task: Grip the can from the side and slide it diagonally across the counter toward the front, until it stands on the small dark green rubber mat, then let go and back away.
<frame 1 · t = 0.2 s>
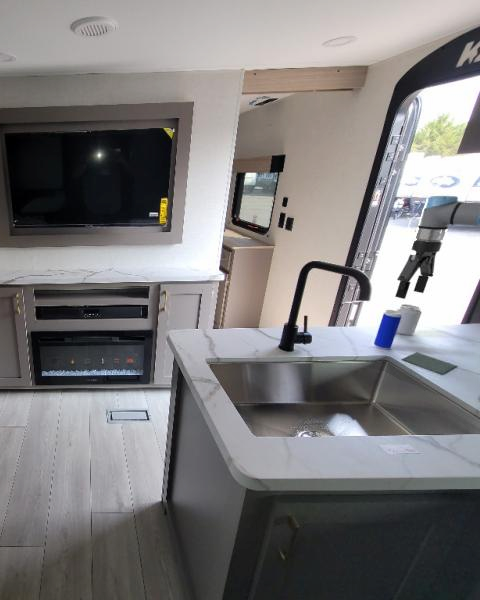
hand: (409, 294, 126), 21 cm above the worktop, tool pointing down, fingers open, 13 cm apart
can: (401, 332, 141), on the worktop
beverage can: (381, 346, 130), on the worktop
mat: (428, 363, 118), on the worktop
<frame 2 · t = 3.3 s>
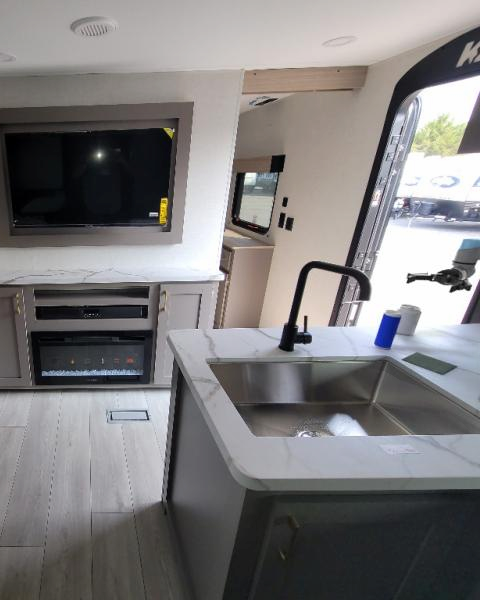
hand: (428, 284, 138), 20 cm above the worktop, tool horizontal, fingers open, 13 cm apart
nothing on the worktop moved.
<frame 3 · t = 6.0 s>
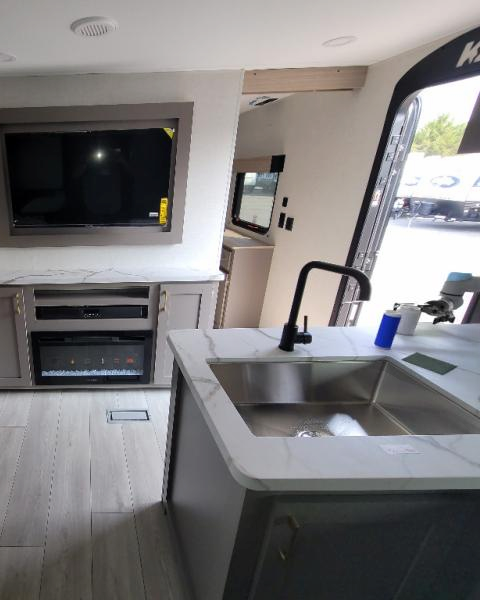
hand: (413, 315, 141), 7 cm above the worktop, tool horizontal, fingers open, 13 cm apart
nothing on the worktop moved.
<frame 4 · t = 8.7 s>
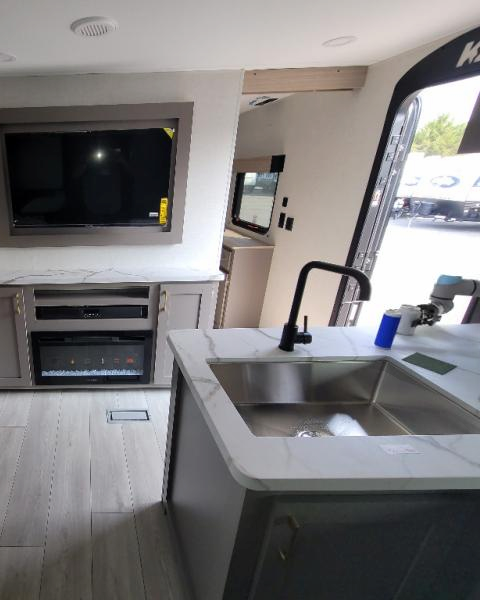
hand: (400, 320, 137), 6 cm above the worktop, tool horizontal, fingers closed on can, 7 cm apart
can: (401, 332, 141), on the worktop, touching gripper
everything else where it was.
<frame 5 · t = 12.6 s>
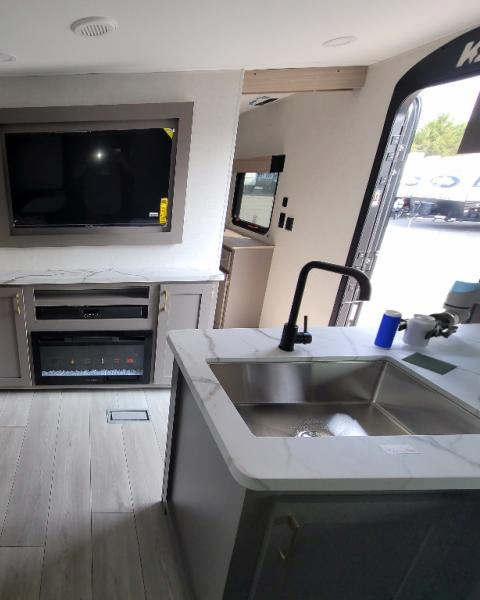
hand: (412, 331, 126), 7 cm above the worktop, tool horizontal, fingers closed on can, 7 cm apart
can: (413, 344, 130), point 1 cm above the worktop, touching gripper
everything else where it was.
when the fingers open (7 cm above the worktop, at t = 16.8 s): can stays where it is, resting on mat.
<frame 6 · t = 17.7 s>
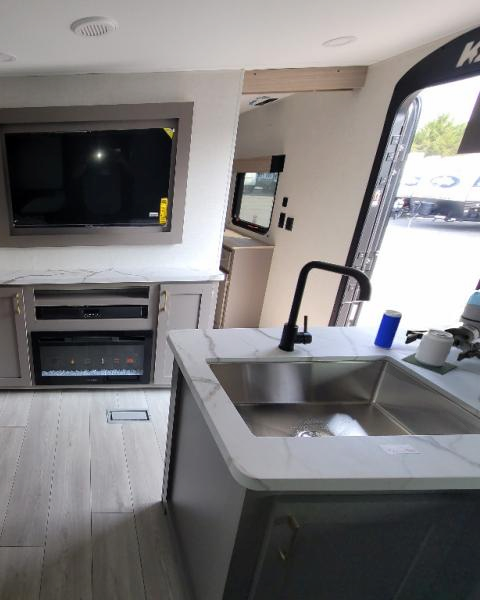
hand: (431, 348, 115), 7 cm above the worktop, tool horizontal, fingers open, 13 cm apart
can: (428, 362, 118), resting on mat
everything else where it was.
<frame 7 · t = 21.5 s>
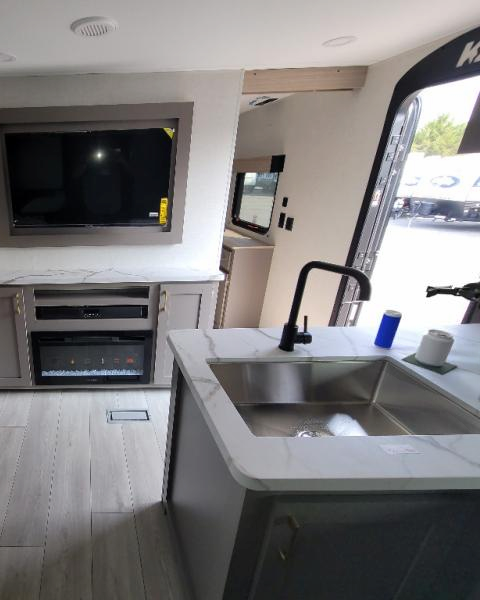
hand: (453, 299, 118), 21 cm above the worktop, tool horizontal, fingers open, 13 cm apart
nothing on the worktop moved.
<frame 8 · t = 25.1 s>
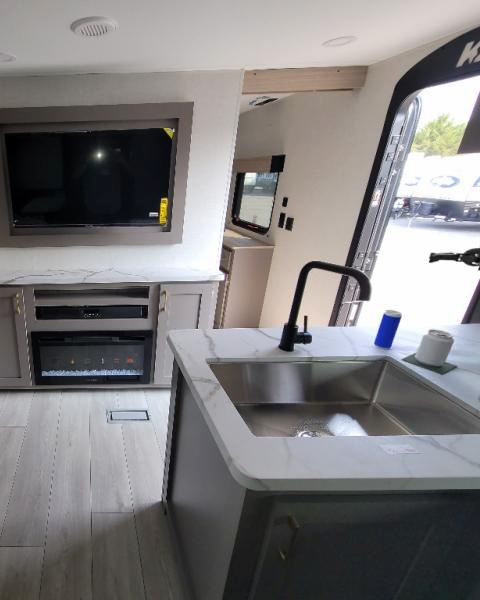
hand: (454, 263, 125), 32 cm above the worktop, tool horizontal, fingers open, 13 cm apart
nothing on the worktop moved.
at the end: can inside the target area on the mat (0.1 cm from its centre), point 0.1 cm above the mat's base; can tilted 0°; the gripper is holding nothing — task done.
